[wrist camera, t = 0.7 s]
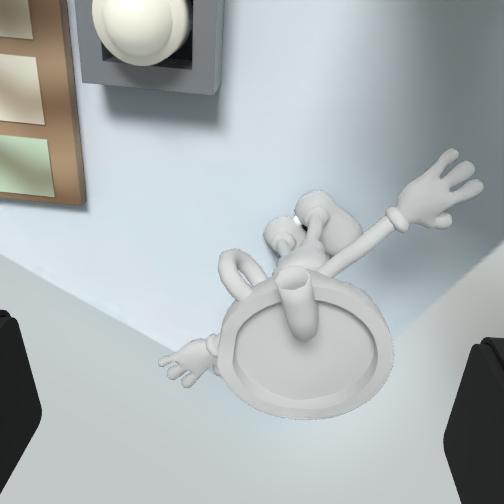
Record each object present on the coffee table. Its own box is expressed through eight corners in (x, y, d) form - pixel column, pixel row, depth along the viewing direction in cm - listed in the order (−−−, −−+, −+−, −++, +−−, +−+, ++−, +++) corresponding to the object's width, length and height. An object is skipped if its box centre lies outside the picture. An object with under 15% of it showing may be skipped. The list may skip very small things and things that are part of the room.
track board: (-72, -61, 32) (-85, -62, 31) (61, -48, 32) (52, -49, 31) (-18, 189, 41) (-27, 195, 40) (86, 199, 41) (80, 206, 40)
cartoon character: (233, 327, 47) (199, 528, 30) (144, 249, 43) (48, 428, 26) (463, 165, 37) (608, 325, 20) (375, 46, 33) (460, 120, 16)
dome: (108, -38, 30) (76, -41, 26) (193, -30, 30) (176, -31, 26) (113, 53, 33) (85, 66, 29) (191, 61, 33) (176, 75, 28)
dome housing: (89, -73, 31) (67, -78, 28) (227, -60, 31) (220, -63, 28) (100, 73, 36) (82, 82, 33) (220, 85, 35) (213, 95, 32)
